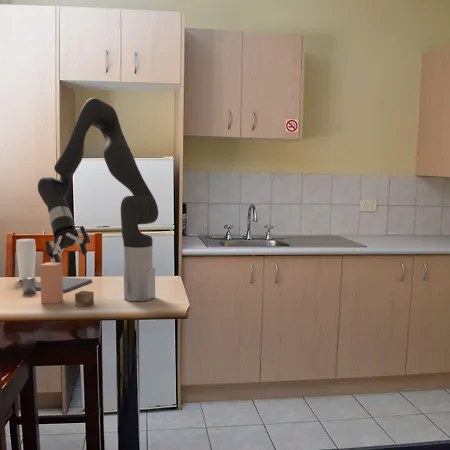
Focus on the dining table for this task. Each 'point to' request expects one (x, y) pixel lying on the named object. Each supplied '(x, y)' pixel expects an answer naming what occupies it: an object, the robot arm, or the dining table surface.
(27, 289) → the grey tin
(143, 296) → the robot arm
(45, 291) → the terracotta block
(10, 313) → the dining table surface
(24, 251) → the drinking glass
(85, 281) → the charcoal mat
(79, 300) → the walnut cube
